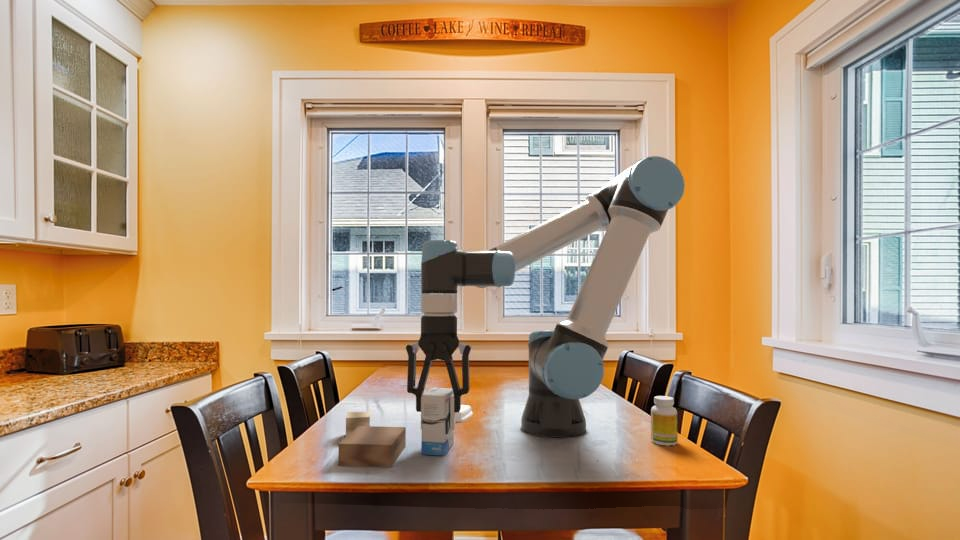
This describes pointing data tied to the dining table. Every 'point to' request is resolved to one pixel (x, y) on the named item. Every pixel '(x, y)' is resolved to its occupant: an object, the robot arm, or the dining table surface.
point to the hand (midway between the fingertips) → (438, 427)
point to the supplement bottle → (664, 421)
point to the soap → (463, 413)
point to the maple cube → (356, 420)
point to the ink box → (436, 422)
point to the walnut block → (372, 446)
